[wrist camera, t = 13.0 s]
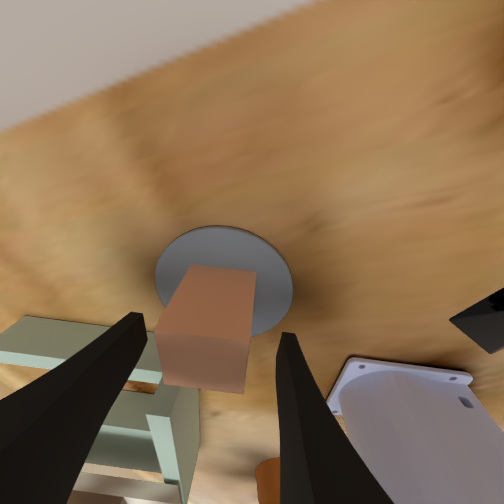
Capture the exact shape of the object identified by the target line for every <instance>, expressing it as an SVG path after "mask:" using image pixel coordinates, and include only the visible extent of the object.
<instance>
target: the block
mask: <svg viewBox="0 0 504 504" xmlns="http://www.w3.org/2000/svg"><path fill="white" fill-rule="evenodd" d="M255 283H256V272H255V271H246V270H238V269H229V268H220V267H211V266H203V265H194V264H191V266H190V267H189V269H188V271H187V273H186V274H185V276H184V278H183V280H182V281H181V283H180V285H179V286H178V288H177V290H176V292H175V293H174V295H173V297H172V299H171V300H170V302H169V304H168V306H167V307H166V309H165V311H164V312H163V314H162V316H161V318H160V319H159V321H158V323H157V325H156V326H155V328H154V335H155V340H156V345H157V350H158V355H159V360H160V365H161V370H162V375H163V380H164V384H165V385H173V386H181V387H189V388H197V389H205V390H213V391H221V392H229V393H237V394H243V393H244V385H245V377H246V369H247V361H248V353H249V345H250V336H251V325H252V315H253V304H254V293H255Z"/></svg>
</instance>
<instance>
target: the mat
mask: <svg viewBox="0 0 504 504" xmlns="http://www.w3.org/2000/svg"><path fill="white" fill-rule="evenodd" d="M191 264H194V265H203V266H211V267H220V268H229V269H238V270H246V271H255V272H256V283H255V293H254V304H253V315H252V325H251V336H250V337H253V336H256V335H259V334H262V333H264V332H266V331H268V330H270V329H271V328H273V327H274V326H276V325H277V324H278V323H279V322H280V321H281V320H282V319H283V318H284V316H285V315H286V314H287V312H288V310H289V308H290V305H291V302H292V297H293V284H292V278H291V273H290V270H289V268H288V266H287V264H286V262H285V260H284V259H283V257H282V256H281V254H280V253H279V252H278V251H277V250H276V249H275V248H274V247H273V246H272V245H271V244H269V243H268V242H267V241H266V240H264V239H262V238H261V237H259V236H257V235H255V234H253V233H251V232H248V231H246V230H242V229H239V228H234V227H229V226H206V227H201V228H197V229H194V230H191V231H188V232H186V233H184V234H182V235H181V236H179V237H178V238H176V239H175V240H174V241H173V242H172V243H171V244H170V245H169V246H168V247H167V248H166V249H165V251H164V252H163V253H162V255H161V256H160V258H159V260H158V262H157V266H156V269H155V285H156V290H157V293H158V295H159V298H160V300H161V301H162V303H163V305H164V306H165V308H166V307H167V306H168V304H169V302H170V300H171V299H172V297H173V295H174V293H175V292H176V290H177V288H178V286H179V285H180V283H181V281H182V280H183V278H184V276H185V274H186V273H187V271H188V269H189V267H190V266H191Z"/></svg>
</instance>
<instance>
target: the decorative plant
mask: <svg viewBox="0 0 504 504" xmlns="http://www.w3.org/2000/svg"><path fill="white" fill-rule="evenodd" d="M255 475H256V481H257V491H258V501H259V504H280V457H279V458H274V459H270V460H267V461H265V462H262V463H261V464H259V465H258V466H257V468H256V469H255Z"/></svg>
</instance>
